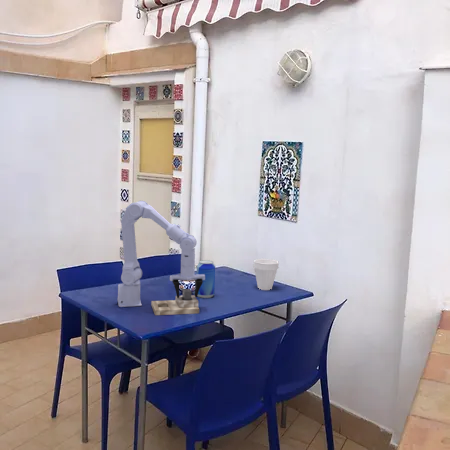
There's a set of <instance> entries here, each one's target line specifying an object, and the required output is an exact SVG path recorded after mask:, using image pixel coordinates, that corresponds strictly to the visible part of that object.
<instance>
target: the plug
mask: <svg viewBox="0 0 450 450" xmlns="http://www.w3.org/2000/svg"><path fill="white" fill-rule="evenodd" d="M191 295H193V293H192V290H191V289H190V288H183V289H182V296H183V297H182V300H191Z"/></svg>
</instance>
